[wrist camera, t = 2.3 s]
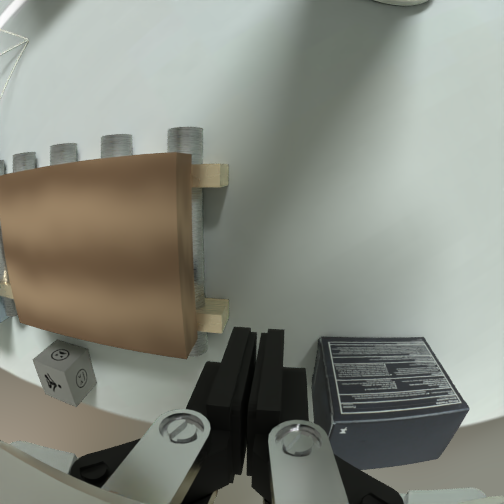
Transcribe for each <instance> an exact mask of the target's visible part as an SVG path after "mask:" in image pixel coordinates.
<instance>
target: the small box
mask: <svg viewBox="0 0 504 504" xmlns="http://www.w3.org/2000/svg"><path fill="white" fill-rule="evenodd" d="M312 399H313V412H314V424H317V425H319V426H320V427H321V428H322V429H323V430H324V431H325V432H326V434H327V436H328V438H329V441H330V445H331V448H332V451H333V454H335V455H336V456H338V457H340V458H341V459H343V460H344V461H346V462H348V463H349V464H351V465H353V466H354V467H356V468H358V469H359V470H366V469H375V468H384V467H393V466H400V465H407V464H413V463H418V462H424V461H429V460H434V459H438V458H439V457H440V455H441V454H442V452H443V451H444V450H445V448H446V447H447V445H448V444H449V442H450V441H451V439H452V438H453V436H454V434H455V433H456V431H457V430H458V428H459V426H460V424H461V423H462V421H463V419H464V418H465V416H466V414H467V413H468V411H469V406H468V405H467V403H466V402H465V401H464V400H463V398H462V396H461V395H460V393H459V392H458V391H457V389H456V388H455V385H454V384H453V383H452V381H451V379H450V377H449V376H448V374H447V373H446V371H445V370H444V368H443V367H442V365H441V363H440V362H439V360H438V359H437V358H436V356H435V354H434V353H433V351H432V350H431V348H430V346H429V345H428V343H427V342H426V340H425V338H424V337H415V338H413V337H411V338H348V337H321V338H320V339H319V340H318V351H317V357H316V364H315V367H314V374H313V377H312Z"/></svg>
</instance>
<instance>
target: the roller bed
mask: <svg viewBox="0 0 504 504" xmlns="http://www.w3.org/2000/svg"><path fill="white" fill-rule="evenodd" d="M171 152H179V153H186V154H192V239H193V266H194V287H195V305H196V320H197V334H198V339H197V341H196V343H195V345H194V347H193V348H192V350H191V352H190V354H189V356H198V355H201V354H204V353H205V352H206V351H207V349H208V344H207V332H211V333H223V330H224V328H225V325H226V323H227V320H228V318H229V299H215V298H205V286H204V257H203V207H202V187H223V186H228V176H229V165H227V164H202V154H203V129H202V128H197V127H178V128H171V129H168V153H171ZM131 155H132V135H129V134H116V135H107V136H103V137H101V159H102V158H111V157H120V156H131ZM71 162H77V144H76V143H66V144H57V145H53V146H50V166H52V165H58V164H65V163H71ZM29 169H35V152H27V153H20V154H15V155H13V173H14V172H19V171H24V170H29ZM0 175H5V174H4V160H0ZM0 296H1V298H2V302H3V306H4V310H5V313H6V316H9V317H12V316H17V315H18V314H17V310H16V306H15V302H14V298H13V294H12V289H11V285H10V280H9V275H8V270H7V264H6V259H5V253H4V246H3V239H2V231H1V222H0Z"/></svg>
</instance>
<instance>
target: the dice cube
mask: <svg viewBox="0 0 504 504" xmlns="http://www.w3.org/2000/svg"><path fill="white" fill-rule="evenodd" d="M33 362H34V365H35V368H36V371H37V373H38V376H39V379H40V382H41V384H42V387H43V389H44V391H45V394H47V395H49V396H51V397H54V398H56V399H58V400H61V401H63V402H65V403H68V404H70V405H72V406H75V407H77V406H78V405H79V404H80V402H81V401H82V400H83V399H84V398H85V396H86V395H87V394H88V393H89V392H90V390H91V389H92V388H93V387H94V386H95V384H96V383H97V381H96V378H95V374H94V371H93V367H92V363H91V359H90V355H89V351H88V349H86V348H83V347H79V346H76V345H72V344H69V343H66V342H63V341H60V340H56V341H55V342H53V343H52V344H51V345H50V346H49V347H47V348H46V349H45V350H44V351H43V352H41V353H40V354H39V355H38V356H37V357H35V358H34V359H33Z"/></svg>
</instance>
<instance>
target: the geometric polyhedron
mask: <svg viewBox="0 0 504 504" xmlns="http://www.w3.org/2000/svg"><path fill="white" fill-rule="evenodd" d="M0 31H3V32H6V33H9V34H12V35H15V36H18V37H21V38H24V39H26V41H27V43H28V42H29V40H28V38H26V37H23V36H20V35H17V34H14V33H11V32H8V31H5V30H2V29H0ZM26 41H23V42H21V43H19V44H17V45H15V46H14V47H12V48H10V49H8V50H6V51H4V52H2V53H1V54H0V55H2V54H3V53H5V52H7V51H9V50H11V49H13V48H15V47H17V46H18V45H20V44H22V43H24V42H26ZM27 43H26V44H25V46H24V48H23V50H22V52H23V51H24V49H25V47H26V45H27ZM22 52H21V54H22ZM21 54H20V55H19V57H18V59H17V61H16V63H15V65H14V67H13V69H12V71H11V73H10V76H11V74H12V72H13V70H14V68H15V66H16V64H17V62H18V60H19V58H20V56H21ZM10 76H9V78H8V80H7V82H6V84H5V87H6V85H7V83H8V81H9V79H10ZM5 87H4V89H3V91H2V94H3V92H4V90H5ZM2 94H1V96H0V99H1V97H2Z"/></svg>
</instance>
